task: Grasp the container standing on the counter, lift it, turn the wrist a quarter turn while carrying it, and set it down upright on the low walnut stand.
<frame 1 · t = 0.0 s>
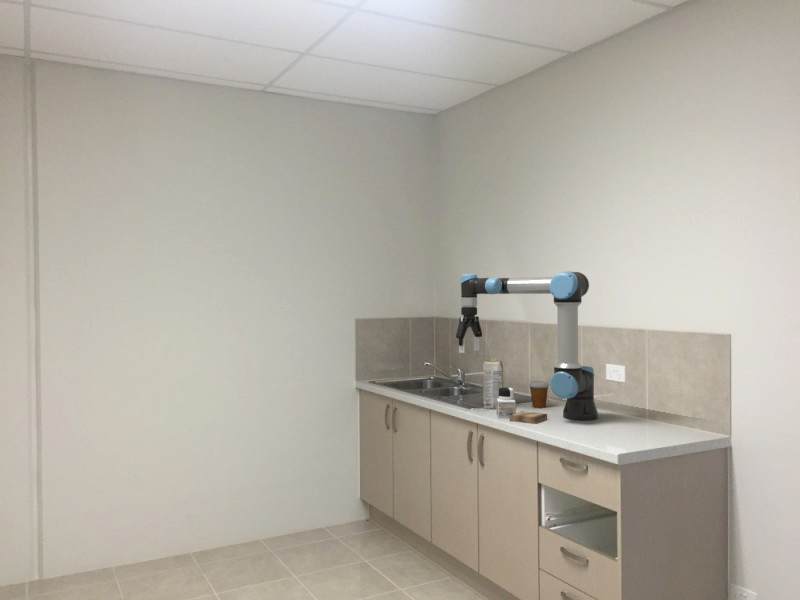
hand: (469, 351, 330), 28 cm above the countertop, fingers open, 13 cm apart
container: (506, 417, 315), on the countertop
disposable coffee cup: (539, 407, 340), on the countertop
stand: (528, 420, 306), on the countertop
juice carton: (493, 408, 338), on the countertop
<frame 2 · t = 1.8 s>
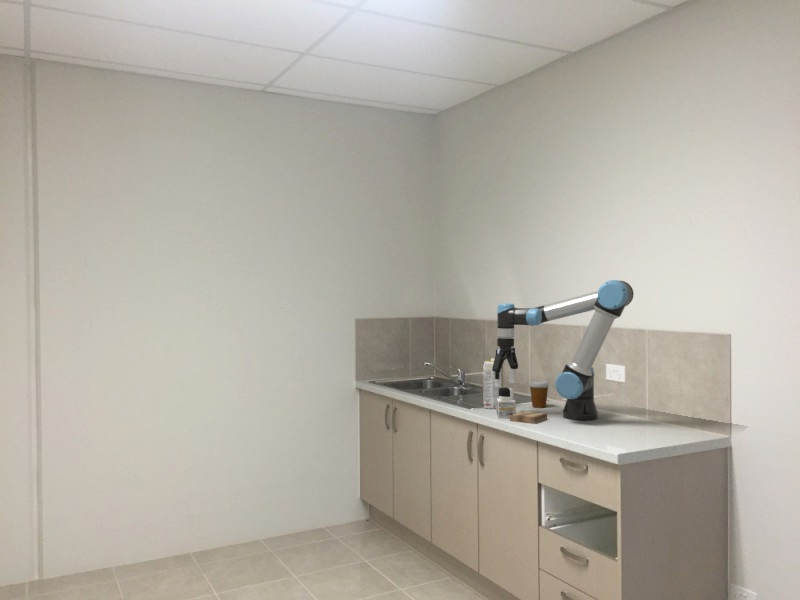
hand: (505, 384, 315), 14 cm above the countertop, fingers open, 13 cm apart
nothing on the countertop moved.
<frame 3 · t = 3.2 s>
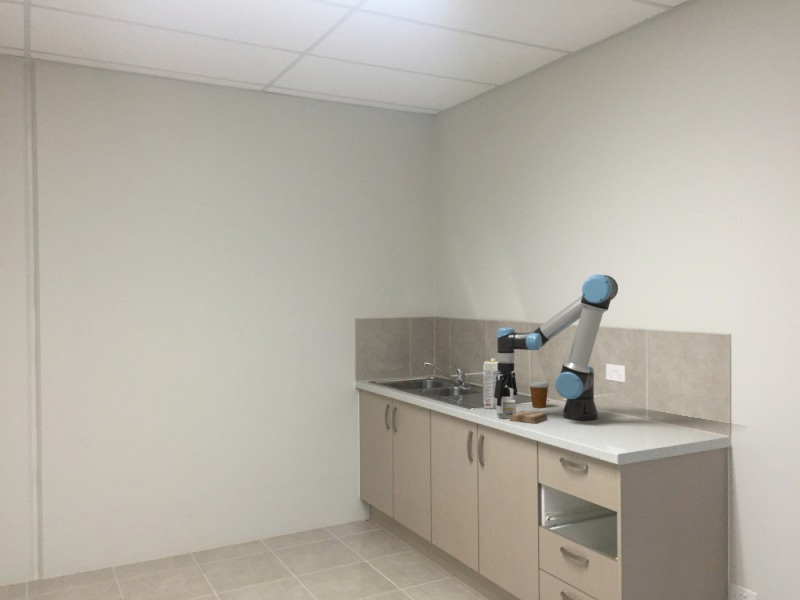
hand: (506, 411, 315), 2 cm above the countertop, fingers closed on container, 10 cm apart
container: (506, 417, 315), on the countertop, touching gripper
everything else where it was.
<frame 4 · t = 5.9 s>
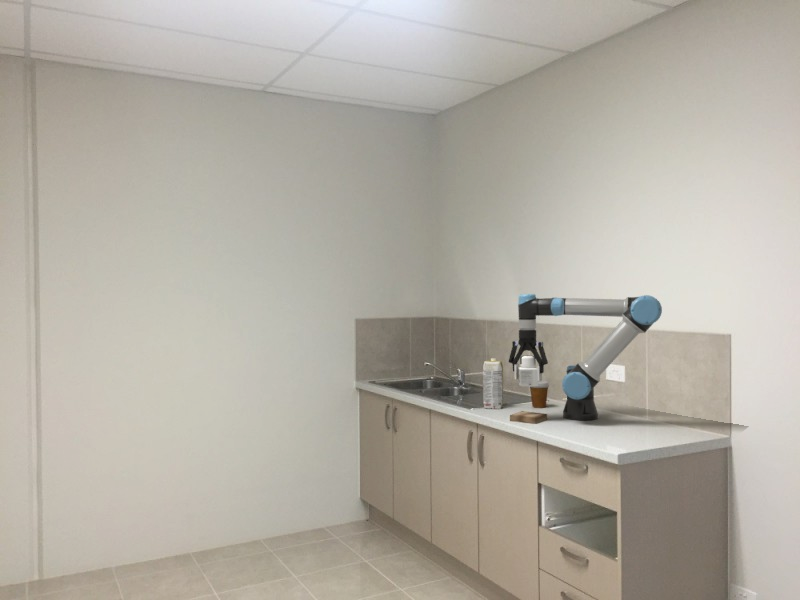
hand: (528, 379, 306), 18 cm above the countertop, fingers closed on container, 10 cm apart
container: (528, 385, 306), point 15 cm above the countertop, touching gripper
everything else where it was.
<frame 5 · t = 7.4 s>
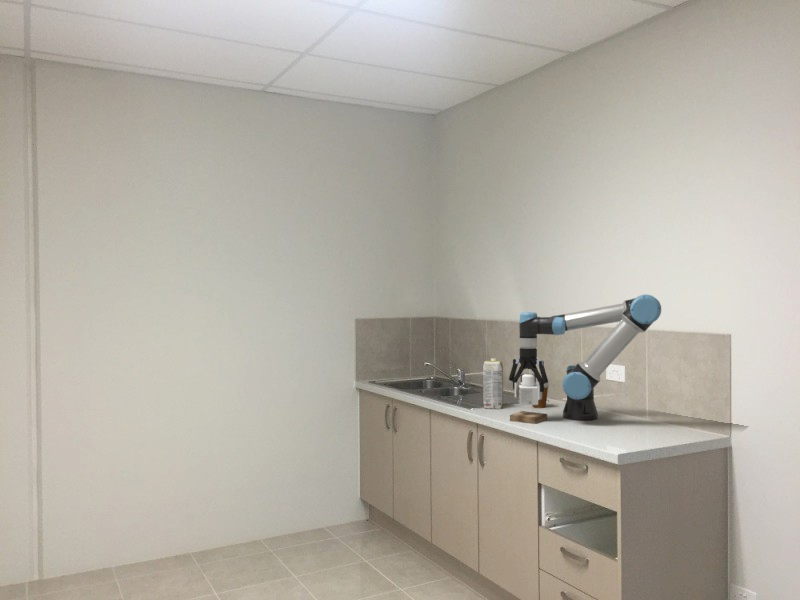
hand: (528, 398, 306), 10 cm above the countertop, fingers closed on container, 10 cm apart
container: (528, 404, 306), point 7 cm above the countertop, touching gripper
everything else where it was.
when the fingers open (6 cm above the countertop, at t = 8.6 s): container drops 1 cm, resting on stand.
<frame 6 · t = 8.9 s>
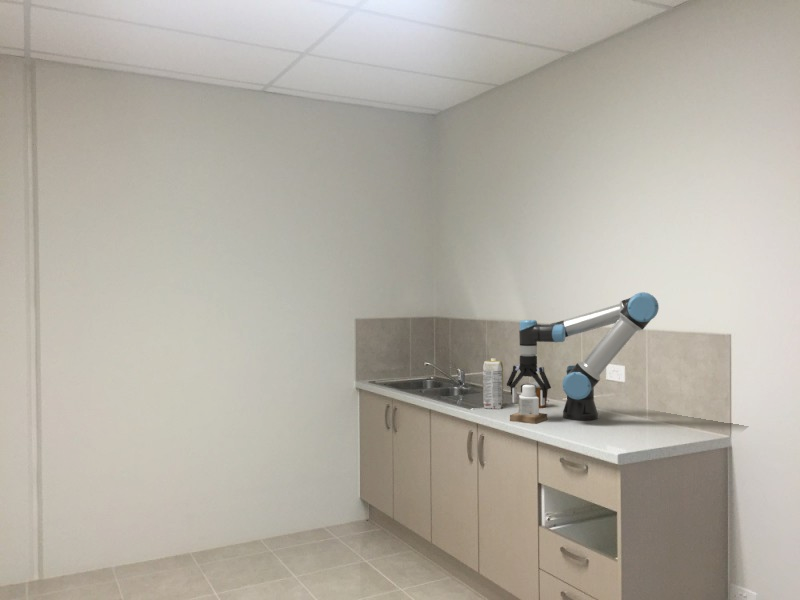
hand: (528, 403, 306), 7 cm above the countertop, fingers open, 13 cm apart
container: (528, 414, 306), point 3 cm above the countertop, touching stand
everything else where it was.
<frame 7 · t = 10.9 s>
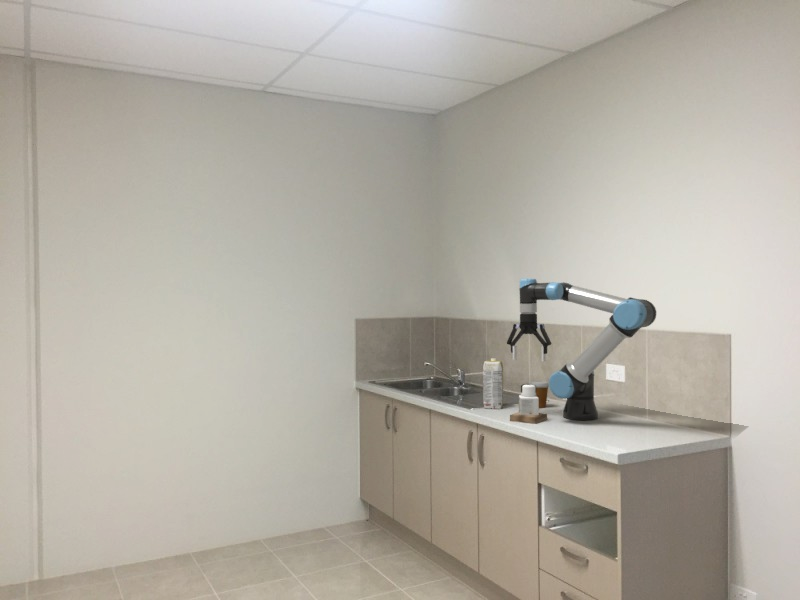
hand: (529, 360, 313), 25 cm above the countertop, fingers open, 13 cm apart
nothing on the countertop moved.
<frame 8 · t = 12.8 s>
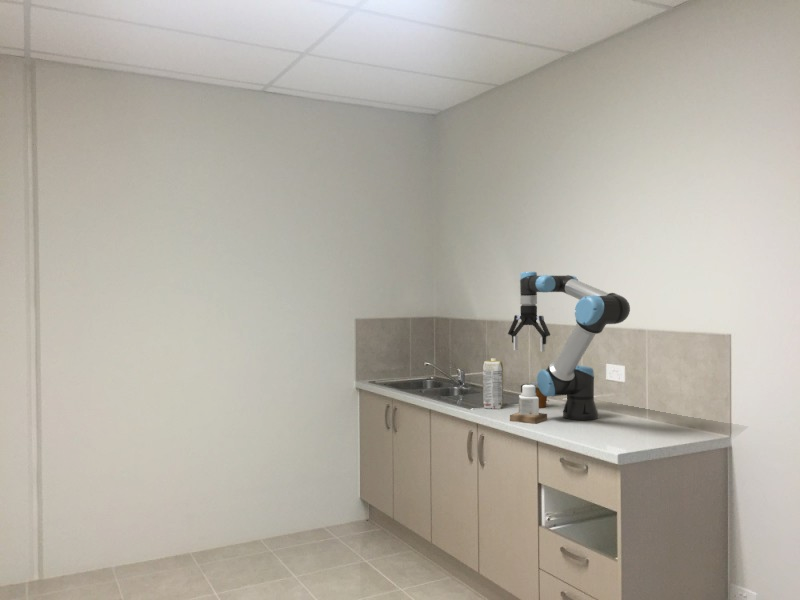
hand: (528, 350, 324), 29 cm above the countertop, fingers open, 13 cm apart
nothing on the countertop moved.
at the end: container inside the target area on the stand (0.0 cm from its centre), point 2.5 cm above the stand's base; container tilted 0°; the gripper is holding nothing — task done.
